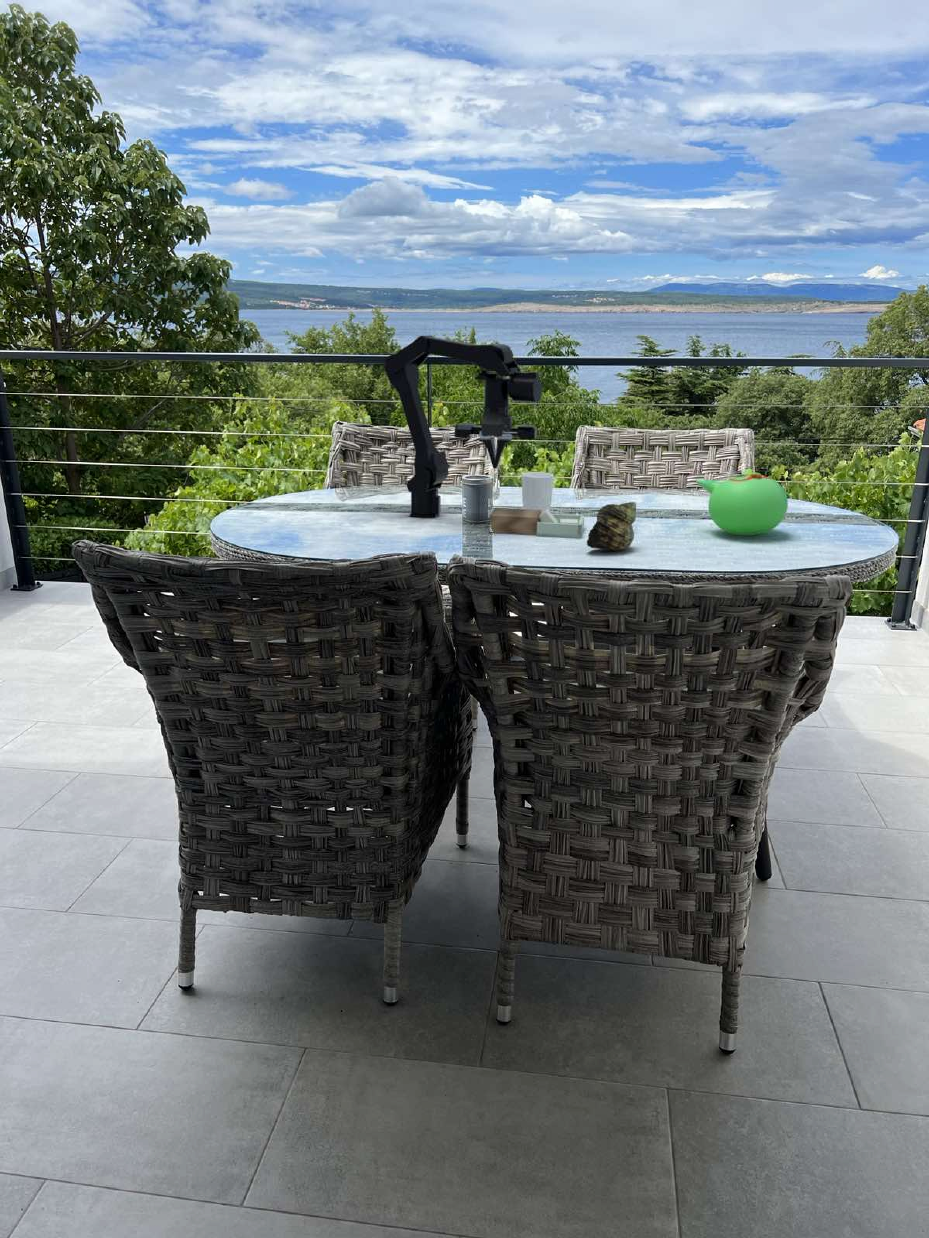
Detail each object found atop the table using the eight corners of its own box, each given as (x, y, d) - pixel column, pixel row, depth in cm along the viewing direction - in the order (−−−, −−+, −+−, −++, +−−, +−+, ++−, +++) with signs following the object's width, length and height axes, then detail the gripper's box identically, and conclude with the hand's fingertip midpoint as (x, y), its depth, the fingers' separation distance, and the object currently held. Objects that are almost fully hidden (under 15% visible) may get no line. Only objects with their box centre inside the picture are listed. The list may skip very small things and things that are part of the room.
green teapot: (738, 545, 217) (745, 478, 213) (688, 530, 231) (693, 467, 227) (799, 537, 225) (806, 473, 221) (747, 523, 239) (753, 463, 235)
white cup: (550, 518, 243) (551, 477, 240) (518, 516, 244) (519, 476, 241) (554, 512, 250) (555, 472, 247) (523, 510, 252) (524, 471, 249)
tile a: (538, 517, 226) (545, 511, 225) (540, 513, 230) (546, 508, 229) (550, 530, 227) (556, 525, 226) (551, 526, 230) (558, 521, 230)
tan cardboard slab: (489, 532, 226) (489, 515, 225) (494, 524, 235) (494, 508, 234) (537, 535, 225) (537, 517, 223) (540, 526, 233) (541, 510, 232)
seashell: (577, 544, 217) (580, 498, 214) (629, 543, 218) (631, 498, 215) (587, 555, 207) (590, 508, 204) (641, 555, 208) (644, 508, 205)
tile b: (577, 523, 225) (577, 531, 226) (577, 519, 229) (577, 527, 230) (560, 522, 226) (559, 530, 226) (560, 518, 229) (560, 527, 230)
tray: (536, 536, 224) (537, 522, 223) (541, 526, 234) (541, 513, 233) (581, 538, 222) (581, 525, 221) (583, 527, 232) (584, 515, 232)
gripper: (450, 402, 223) (450, 472, 227) (533, 405, 220) (531, 475, 224) (459, 398, 233) (458, 465, 238) (538, 400, 230) (535, 467, 235)
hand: (495, 468), depth 233 cm, fingers closed
